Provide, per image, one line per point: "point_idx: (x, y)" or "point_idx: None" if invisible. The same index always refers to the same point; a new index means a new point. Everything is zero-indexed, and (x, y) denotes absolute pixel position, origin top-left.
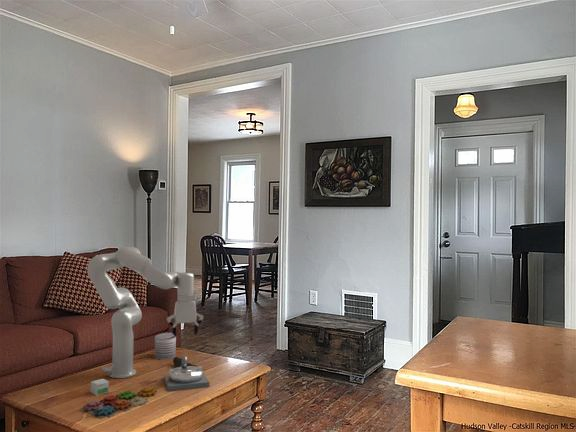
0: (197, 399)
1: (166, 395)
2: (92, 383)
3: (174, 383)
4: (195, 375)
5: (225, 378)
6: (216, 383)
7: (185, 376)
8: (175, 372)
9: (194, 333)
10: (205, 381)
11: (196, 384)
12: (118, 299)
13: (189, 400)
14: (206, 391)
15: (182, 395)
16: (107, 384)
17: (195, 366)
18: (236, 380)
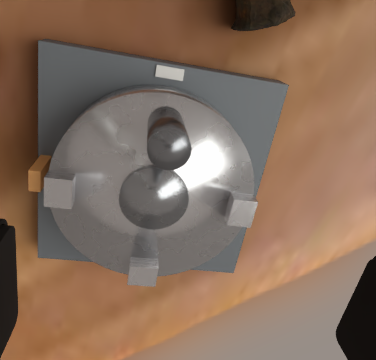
0: (135, 350)
1: (28, 283)
2: None
3: None
4: (179, 270)
5: (344, 196)
6: (274, 238)
7: (123, 272)
8: (84, 195)
9: (356, 291)
10: (221, 260)
11: None
12: None
13: (106, 349)
14: (195, 300)
15: (93, 304)
16: None
17: (278, 24)
18: (365, 238)
